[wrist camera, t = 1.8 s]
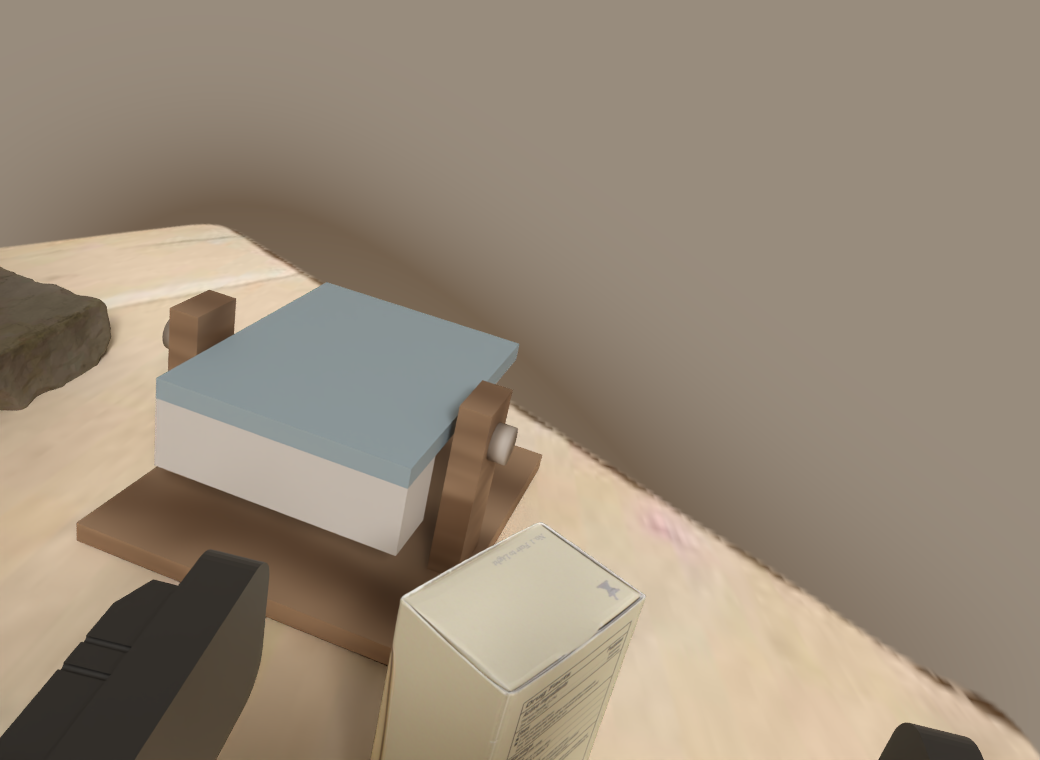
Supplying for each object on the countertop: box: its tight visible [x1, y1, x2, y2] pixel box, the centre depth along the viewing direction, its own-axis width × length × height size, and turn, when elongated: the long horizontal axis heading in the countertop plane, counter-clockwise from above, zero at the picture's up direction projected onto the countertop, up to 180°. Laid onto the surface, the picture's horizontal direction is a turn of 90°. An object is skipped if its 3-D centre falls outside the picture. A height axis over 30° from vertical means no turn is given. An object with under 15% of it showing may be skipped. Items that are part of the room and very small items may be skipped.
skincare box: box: [370, 522, 646, 760], centre depth 27 cm, size 6×4×12 cm
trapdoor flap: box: [155, 283, 519, 556], centre depth 44 cm, size 15×12×4 cm
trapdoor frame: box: [77, 290, 542, 665], centre depth 44 cm, size 19×18×10 cm
